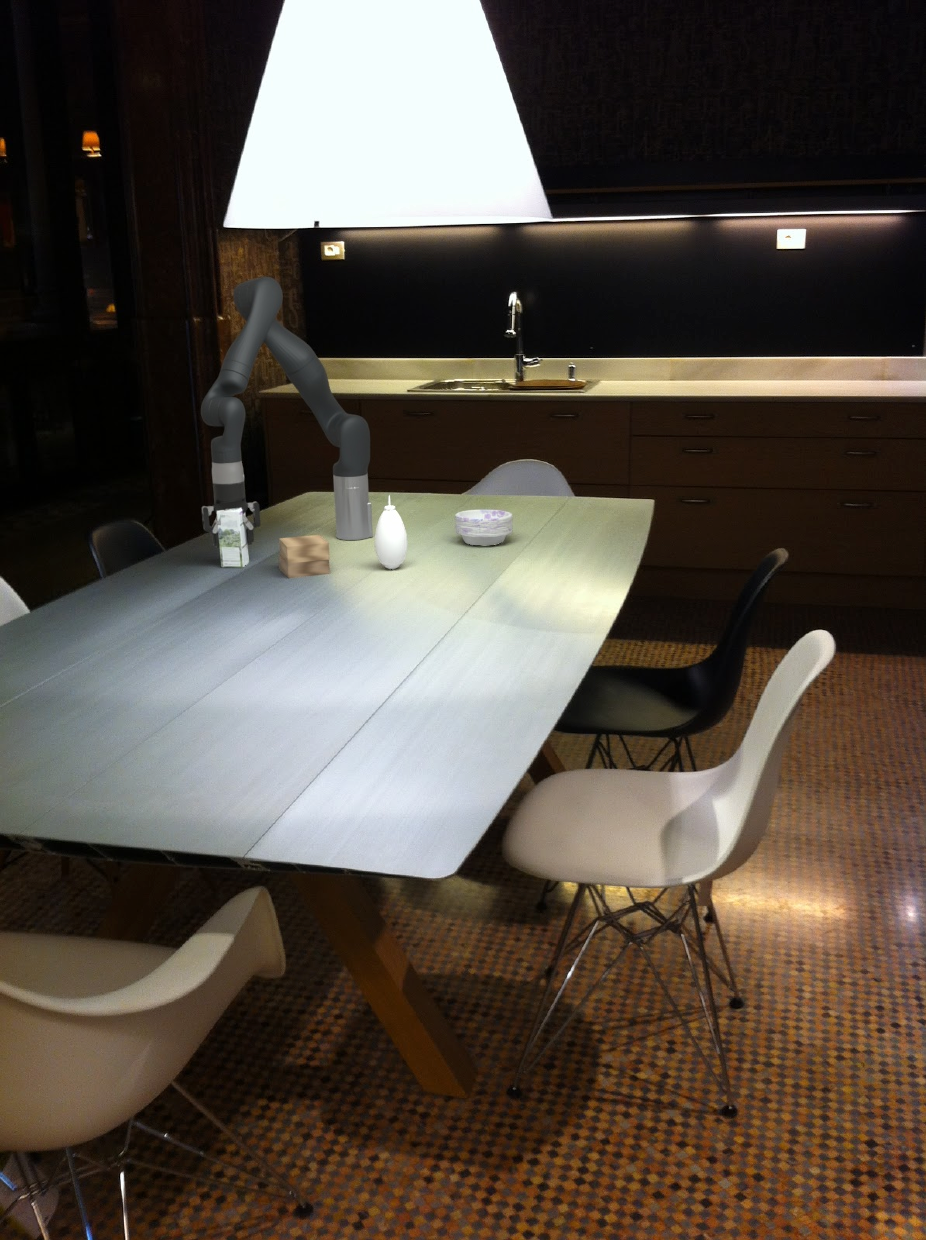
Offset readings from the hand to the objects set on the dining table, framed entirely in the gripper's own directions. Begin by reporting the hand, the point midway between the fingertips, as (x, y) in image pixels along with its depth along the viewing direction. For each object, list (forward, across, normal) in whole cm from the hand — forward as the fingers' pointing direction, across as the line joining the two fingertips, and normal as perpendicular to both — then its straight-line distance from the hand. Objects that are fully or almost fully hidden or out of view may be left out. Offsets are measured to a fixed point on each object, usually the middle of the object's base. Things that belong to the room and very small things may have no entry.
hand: (233, 545), depth 287 cm
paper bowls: (+5, -65, +5) cm, 65 cm away
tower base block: (+5, -14, +14) cm, 21 cm away
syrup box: (+5, 0, 0) cm, 5 cm away
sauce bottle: (+5, -34, +21) cm, 40 cm away
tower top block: (+1, -14, +14) cm, 20 cm away
